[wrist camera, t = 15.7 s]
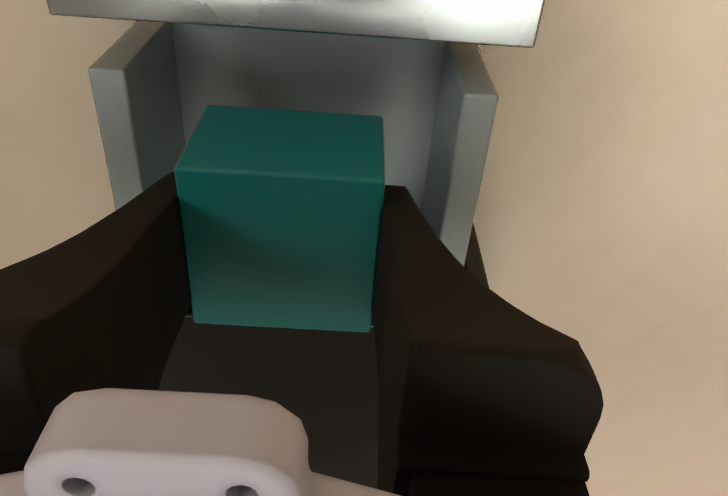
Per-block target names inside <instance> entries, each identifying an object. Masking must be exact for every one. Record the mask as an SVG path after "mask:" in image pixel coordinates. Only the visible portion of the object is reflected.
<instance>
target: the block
mask: <svg viewBox="0 0 728 496" xmlns="http://www.w3.org/2000/svg"><path fill="white" fill-rule="evenodd" d="M174 172H175V180H176V188H177V195H178V202H179V210H180V218H181V226H182V234H183V241H184V249H185V257H186V265H187V273H188V280H189V288H190V296H191V305H192V312H193V320H194V322H195V323H202V324H220V325H239V326H257V327H276V328H294V329H313V330H331V331H350V332H369V331H370V329H371V321H372V306H373V296H374V286H375V276H376V266H377V256H378V245H379V235H380V225H381V215H382V208H383V201H384V190H385V161H384V135H383V118H382V117H381V116H373V115H358V114H342V113H327V112H312V111H297V110H281V109H266V108H251V107H235V106H220V105H208V106H207V107H206V109H205V111H204V112H203V114H202V116H201V118H200V120H199V122H198V124H197V126H196V128H195V130H194V131H193V133H192V135H191V137H190V139H189V141H188V143H187V145H186V147H185V149H184V150H183V152H182V154H181V156H180V158H179V160H178V162H177V164H176V166H175V168H174Z"/></svg>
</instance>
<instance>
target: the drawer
mask: <svg viewBox="0 0 728 496" xmlns="http://www.w3.org/2000/svg"><path fill="white" fill-rule="evenodd" d="M544 2H545V0H47V3H48V8H49V12H50V14H52V15H63V16H78V17H92V18H106V19H121V20H135V21H137V22H136V23H135V24H134V25H133V26H132V27H131V28H130V29H128V30H127V31H126V32H125V33H124V34H123V35H122V36H121V37H120V38H119V39H118V40H117V41H116V42H115V43H114V44H113V45H112V46H111V47H110V48H109V49H108V50H107V51H106V52H105V53H104V54H103V55H102V56H101V57H100V58H99V59H97V60H96V61H95V62H94V63H93V64H92V65H91V66H90V67H89V69H88V72H89V77H90V82H91V87H92V92H93V97H94V102H95V107H96V112H97V117H98V122H99V127H100V132H101V137H102V142H103V147H104V152H105V157H106V162H107V167H108V172H109V177H110V182H111V187H112V192H113V197H114V202H115V207H116V210H118V209H119V208H121V207H122V206H123V205H125V204H126V203H128V202H129V201H131V200H132V199H133V198H135V197H136V196H138V195H139V194H140V193H142V192H143V191H145V190H146V189H147V188H149V187H150V186H151V185H153V184H154V183H156V182H157V181H158V180H160V179H161V178H163V177H164V176H166V175H167V174H169V173H170V172H174V168H175V166H176V164H177V162H178V160H179V158H180V156H181V154H182V152H183V150H184V149H185V147H186V145H187V143H188V141H189V139H190V137H191V135H192V133H193V131H194V130H195V128H196V126H197V124H198V122H199V120H200V118H201V116H202V114H203V112H204V111H205V109H206V107H207V106H208V105H220V106H235V107H251V108H266V109H281V110H297V111H312V112H327V113H342V114H358V115H373V116H381V117H382V118H383V135H384V161H385V185H396V186H405V187H406V188H407V189H408V191H409V192H410V194H411V196H412V198H413V200H414V201H415V203H416V205H417V207H418V208H419V210H420V211H421V213H422V215H423V216H424V218H425V219H426V221H427V222H428V224H429V225H430V226H431V228H432V229H433V230H434V232H435V233H436V235H437V236H438V237H439V239H440V240H441V241H442V242H443V244H444V245H445V246H446V247H447V249H448V250H449V251H450V252H451V253H452V254H453V256H454V257H455V258H456V259H457V260H458V261H459V262H460V263H461V264H462V265H463V266H464V264H465V259H466V254H467V249H468V244H469V239H470V234H471V229H472V224H473V220H474V215H475V210H476V205H477V200H478V195H479V190H480V185H481V180H482V175H483V170H484V166H485V161H486V156H487V151H488V146H489V141H490V136H491V131H492V126H493V121H494V116H495V111H496V107H497V102H498V95H497V92H496V90H495V88H494V85H493V83H492V81H491V78H490V76H489V74H488V71H487V69H486V67H485V64H484V62H483V60H482V57H481V55H480V53H479V50H478V48H477V46H476V44H481V45H496V46H510V47H525V48H533V47H534V46H535V41H536V37H537V33H538V28H539V24H540V19H541V15H542V11H543V6H544Z"/></svg>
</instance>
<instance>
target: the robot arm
mask: <svg viewBox="0 0 728 496" xmlns="http://www.w3.org/2000/svg"><path fill="white" fill-rule="evenodd" d="M190 304H191V296H190V288H189V280H188V273H187V265H186V257H185V249H184V241H183V234H182V226H181V218H180V210H179V202H178V195H177V188H176V180H175V172H170V173H169V174H167V175H166V176H164V177H163V178H161V179H160V180H158V181H157V182H156V183H154V184H153V185H151V186H150V187H149V188H147V189H146V190H145V191H143V192H142V193H140V194H139V195H138V196H136V197H135V198H133V199H132V200H131V201H129V202H128V203H126V204H125V205H123V206H122V207H121V208H119V209H118V210H116V211H115V212H113V213H112V214H110V215H108V216H107V217H105V218H104V219H102V220H100V221H99V222H97V223H96V224H94V225H92V226H91V227H89V228H88V229H86V230H84V231H83V232H81V233H79V234H77V235H76V236H74V237H72V238H70V239H68V240H66V241H64V242H62V243H60V244H58V245H56V246H54V247H52V248H50V249H48V250H46V251H44V252H42V253H40V254H37V255H35V256H33V257H30V258H28V259H25V260H23V261H20V262H18V263H15V264H13V265H10V266H8V267H5V268H3V269H0V496H589V493H588V490H587V487H586V483H585V481H586V482H587V481H588V479H589V468H588V465H587V462H586V459H585V456H584V453H585V451H586V449H587V447H588V444H589V442H590V440H591V438H592V435H593V433H594V431H595V429H596V427H597V424H598V422H599V420H600V417H601V413H602V409H603V405H604V404H603V398H602V392H601V389H600V386H599V384H598V381H597V379H596V376H595V374H594V371H593V369H592V367H591V365H590V363H589V361H588V359H587V357H586V356H585V354H584V352H583V350H582V349H581V347H580V345H579V342H578V341H577V340H575V339H573V338H571V337H569V336H567V335H565V334H563V333H561V332H559V331H557V330H555V329H553V328H551V327H548V326H546V325H544V324H542V323H541V322H539V321H537V320H535V319H534V318H532V317H530V316H529V315H527V314H525V313H524V312H522V311H520V310H519V309H517V308H515V307H514V306H512V305H511V304H510V303H508V302H507V301H505V300H504V299H502V298H501V297H500V296H498V295H497V294H496V293H494V292H493V291H492V290H490V289H489V288H488V287H486V286H485V285H484V284H483V283H482V282H480V281H479V280H478V279H477V278H476V277H475V276H474V275H473V274H471V273H470V272H469V271H468V270H467V269H466V268H465V267H464V266H463V265H462V264H461V263H460V262H459V261H458V260H457V259H456V258H455V257H454V256H453V254H452V253H451V252H450V251H449V250H448V249H447V247H446V246H445V245H444V244H443V242H442V241H441V240H440V239H439V237H438V236H437V235H436V233H435V232H434V230H433V229H432V228H431V226H430V225H429V224H428V222H427V221H426V219H425V218H424V216H423V215H422V213H421V211H420V210H419V208H418V207H417V205H416V203H415V201H414V200H413V198H412V196H411V194H410V192H409V191H408V189H407V188H406V187H405V186H396V185H385V190H384V201H383V208H382V215H381V225H380V235H379V245H378V256H377V266H376V276H375V286H374V296H373V306H372V318H373V328H374V337H375V347H376V357H377V367H378V383H379V418H378V489H375V488H371V487H367V486H364V485H360V484H356V483H352V482H349V481H345V480H341V479H337V478H334V477H330V476H326V475H322V474H318V473H315V472H312V471H311V470H310V468H309V463H308V437H307V434H306V432H305V429H304V427H303V424H302V422H301V419H300V418H298V417H297V416H295V415H294V414H292V413H291V412H290V411H288V410H287V409H285V408H284V407H282V406H281V405H280V404H278V403H277V402H275V401H271V400H266V399H262V398H257V397H253V396H249V395H236V394H216V393H196V392H177V391H158V390H159V386H160V382H161V379H162V375H163V372H164V369H165V367H166V364H167V361H168V358H169V356H170V353H171V351H172V348H173V346H174V343H175V341H176V338H177V336H178V333H179V331H180V328H181V326H182V323H183V321H184V319H185V316H186V314H187V311H188V309H189V306H190Z"/></svg>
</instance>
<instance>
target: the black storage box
mask: <svg viewBox="0 0 728 496" xmlns="http://www.w3.org/2000/svg"><path fill="white" fill-rule="evenodd" d="M464 267H465V268H466V269H467V270H468V271H469V272H470V273H471V274H473V275H474V276H475V277H476V278H477V279H478V280H479V281H480V282H482V283H483V284H484V285H485V286H486V287H488V288H489V285H488V281H487V277H486V273H485V269H484V265H483V261H482V257H481V252H480V248H479V244H478V240H477V236H476V232H475V228H474V224H472V229H471V234H470V239H469V244H468V249H467V254H466V259H465V264H464ZM158 391H177V392H196V393H216V394H236V395H249V396H253V397H257V398H262V399H266V400H271V401H275V402H277V403H278V404H280V405H281V406H282V407H284V408H285V409H287V410H288V411H290V412H291V413H292V414H294V415H295V416H297V417H298V418H300V419H301V422H302V424H303V427H304V429H305V432H306V434H307V437H308V463H309V468H310V470H311V471H312V472H315V473H318V474H322V475H326V476H330V477H334V478H337V479H341V480H345V481H349V482H352V483H356V484H360V485H364V486H367V487H371V488H375V489H378V418H379V383H378V367H377V357H376V347H375V337H374V328H373V318H372V321H371V329H370V331H369V332H350V331H331V330H313V329H294V328H276V327H257V326H239V325H220V324H202V323H195V322H194V320H193V312H192V305H191V304H190V306H189V309H188V311H187V314H186V316H185V319H184V321H183V323H182V326H181V328H180V331H179V333H178V336H177V338H176V341H175V343H174V346H173V348H172V351H171V353H170V356H169V358H168V361H167V364H166V367H165V369H164V372H163V375H162V379H161V382H160V386H159V390H158Z"/></svg>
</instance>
